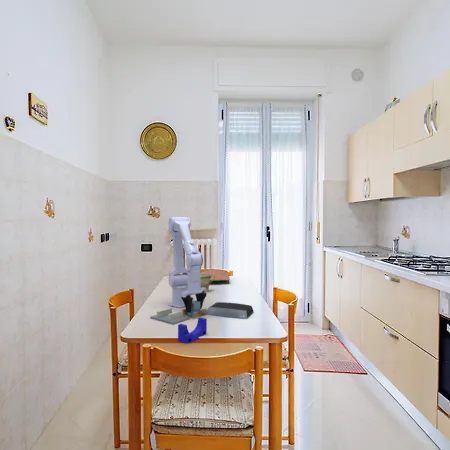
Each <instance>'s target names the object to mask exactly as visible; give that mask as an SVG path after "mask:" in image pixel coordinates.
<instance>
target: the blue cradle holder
mask: <svg viewBox="0 0 450 450" xmlns="http://www.w3.org/2000/svg"><path fill="white" fill-rule="evenodd" d="M207 321H208V318H204V317H203V316H201V317H198V318H197V323H196V326H195V328H194V329H193V330H192V331H191V332H189V329H188V325H187V324H184V323H177V341H178V342H180V343H184V344H189V343H192V342H195V341H197V340H199V338H200V337H202V336H205V335H207V333H208V332H207V331H208V330H207V329H208V327H207V323H208V322H207Z"/></svg>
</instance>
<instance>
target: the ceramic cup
mask: <svg viewBox="0 0 450 450" xmlns="http://www.w3.org/2000/svg"><path fill="white" fill-rule="evenodd" d="M212 276H214V275H210V274H203V273H201V288H203V287H204V288H206V292H204V293H208V292H209V287H210V284H212V283H213V282H214V281H213V280H214V279H215V276H214V279H213V280H212V281H210V278H211V277H212Z"/></svg>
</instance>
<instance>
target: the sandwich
mask: <svg viewBox="0 0 450 450" xmlns="http://www.w3.org/2000/svg"><path fill="white" fill-rule="evenodd" d="M201 273H203V274H210V275H214V276H215V279H214V276H212V277H211V278H210V282H211V281H212V280H213V279H214V280H213V281H212V282H213V284H221V282H226V284H228V285H229V283H230V282H229V281H230V276H229V273H228V272H227V271H223V270H219V269H214V268H213V269H207V270H205V271H201Z"/></svg>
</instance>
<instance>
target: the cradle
mask: <svg viewBox="0 0 450 450" xmlns="http://www.w3.org/2000/svg"><path fill="white" fill-rule="evenodd" d="M181 310H182V311H183V316H186V315H188V312H186V308H185V307H184V308H183V309H181ZM207 310H208V308H202V309H200V310H199V311H196V312H193V316H192V318H193V319H198V318H200V317H203V316H207V315H206V313H207Z"/></svg>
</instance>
